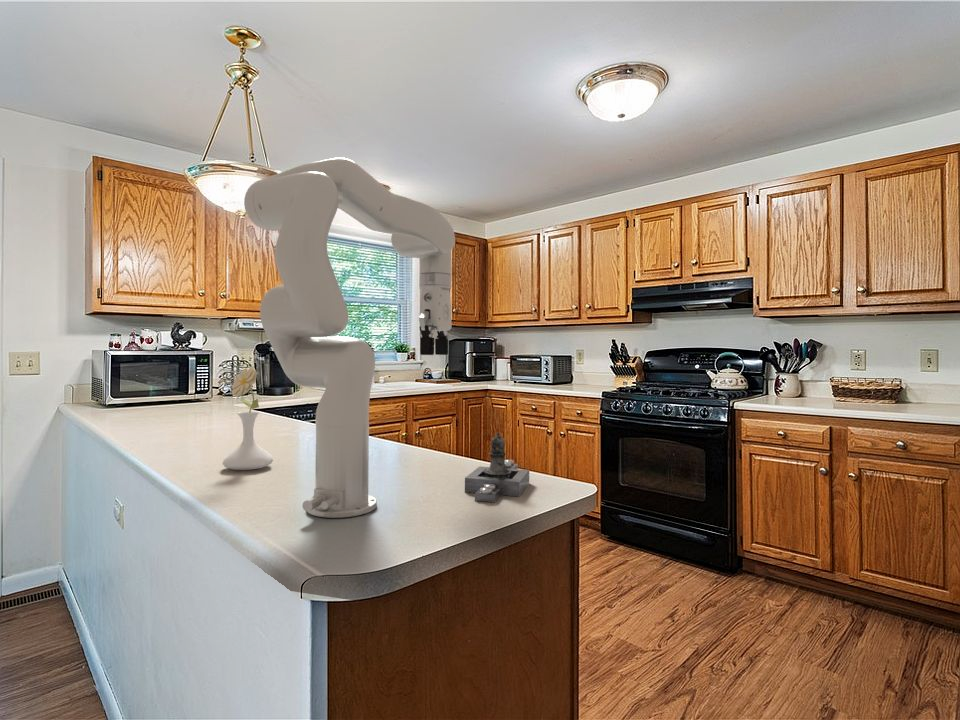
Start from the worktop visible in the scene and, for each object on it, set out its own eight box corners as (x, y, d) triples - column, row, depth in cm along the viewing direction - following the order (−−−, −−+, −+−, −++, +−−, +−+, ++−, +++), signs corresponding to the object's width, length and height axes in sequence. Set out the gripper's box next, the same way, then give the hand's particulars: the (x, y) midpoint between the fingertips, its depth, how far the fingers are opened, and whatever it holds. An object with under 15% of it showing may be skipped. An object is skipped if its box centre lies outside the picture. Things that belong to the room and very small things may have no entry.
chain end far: (519, 496, 108) (519, 478, 108) (464, 492, 111) (464, 474, 111) (533, 477, 125) (533, 461, 125) (485, 473, 128) (486, 458, 128)
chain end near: (513, 504, 102) (513, 492, 102) (456, 499, 106) (456, 487, 105) (529, 483, 119) (529, 473, 119) (479, 479, 122) (479, 469, 122)
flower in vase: (219, 466, 133) (219, 365, 132) (268, 461, 139) (268, 365, 138) (226, 477, 122) (227, 367, 121) (279, 471, 128) (279, 367, 127)
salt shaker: (478, 487, 115) (478, 431, 115) (497, 483, 119) (498, 429, 119) (496, 492, 111) (497, 435, 111) (516, 488, 115) (517, 432, 115)
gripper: (437, 277, 118) (436, 355, 118) (461, 286, 135) (460, 354, 135) (406, 278, 120) (405, 354, 120) (433, 287, 137) (432, 354, 137)
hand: (434, 354), depth 127 cm, fingers open, 9 cm apart
